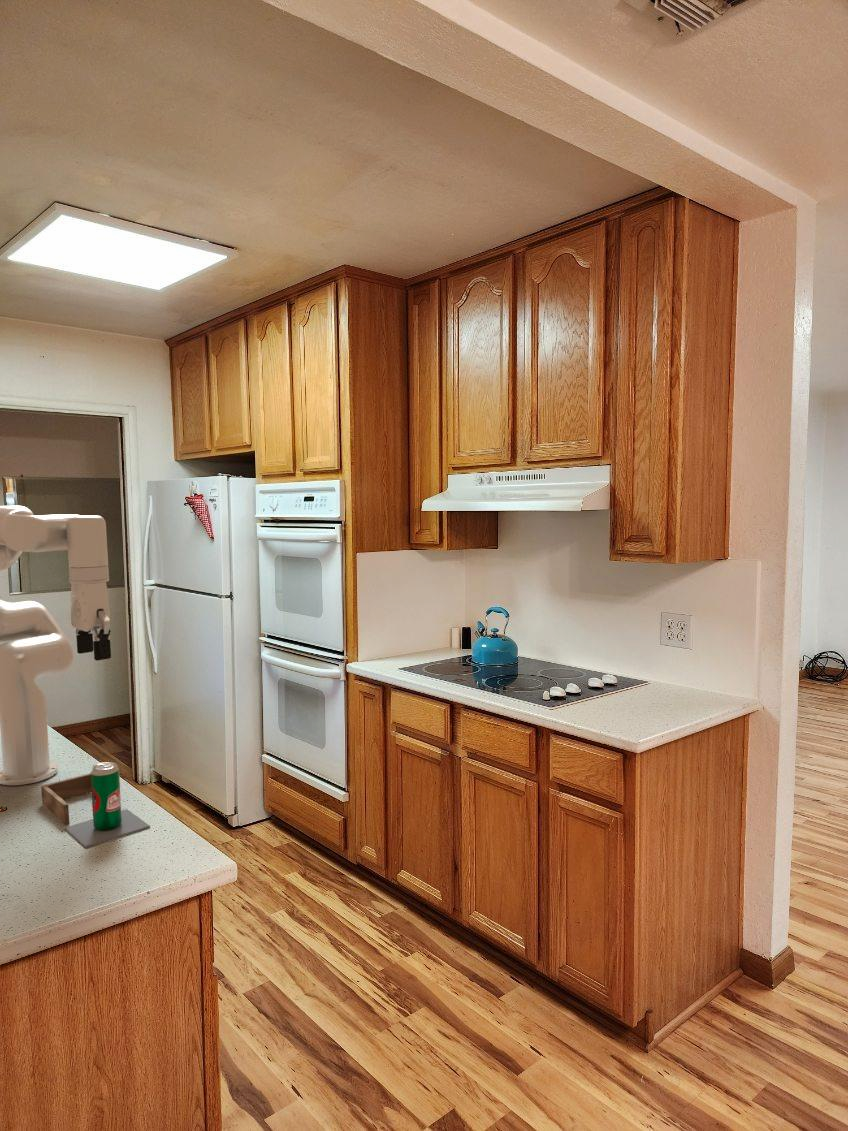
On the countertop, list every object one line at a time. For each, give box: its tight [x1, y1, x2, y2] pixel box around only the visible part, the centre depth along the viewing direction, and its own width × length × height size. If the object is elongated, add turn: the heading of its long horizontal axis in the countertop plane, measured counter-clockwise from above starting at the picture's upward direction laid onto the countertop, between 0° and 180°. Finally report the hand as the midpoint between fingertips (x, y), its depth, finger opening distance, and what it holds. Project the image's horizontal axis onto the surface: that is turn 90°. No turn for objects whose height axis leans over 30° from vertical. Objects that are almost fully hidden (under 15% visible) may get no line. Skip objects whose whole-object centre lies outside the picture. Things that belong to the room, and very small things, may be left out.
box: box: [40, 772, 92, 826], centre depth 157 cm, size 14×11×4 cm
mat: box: [64, 808, 151, 849], centre depth 146 cm, size 11×12×1 cm
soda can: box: [90, 761, 122, 831], centre depth 146 cm, size 5×5×12 cm
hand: (94, 655), depth 160 cm, fingers open, 9 cm apart
